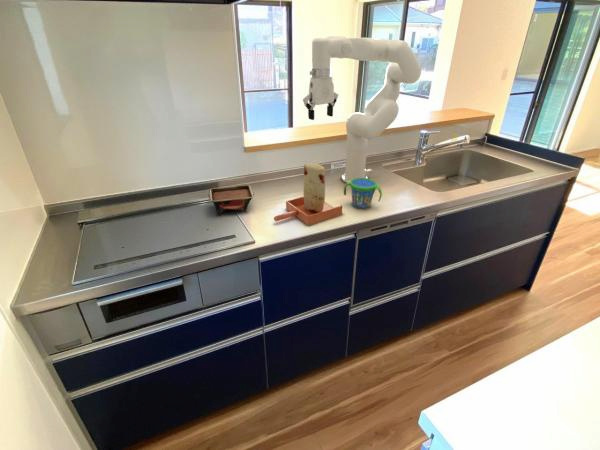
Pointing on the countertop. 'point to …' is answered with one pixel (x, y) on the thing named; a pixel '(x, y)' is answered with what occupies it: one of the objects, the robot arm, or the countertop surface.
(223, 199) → the baking dish
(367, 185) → the snack cup
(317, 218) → the scoop
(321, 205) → the food model
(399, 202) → the countertop surface
